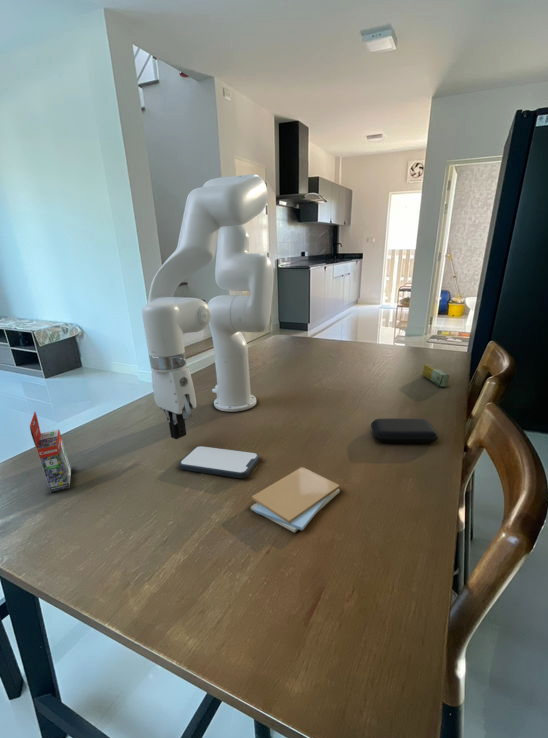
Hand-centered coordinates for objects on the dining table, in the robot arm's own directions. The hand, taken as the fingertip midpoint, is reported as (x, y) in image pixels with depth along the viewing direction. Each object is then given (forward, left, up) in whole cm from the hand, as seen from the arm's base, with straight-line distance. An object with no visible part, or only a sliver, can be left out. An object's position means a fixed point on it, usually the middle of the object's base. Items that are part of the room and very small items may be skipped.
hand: (178, 436), depth 90 cm
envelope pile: (+35, 0, -3) cm, 35 cm away
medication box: (+32, +79, -3) cm, 86 cm away
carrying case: (+40, +36, -3) cm, 54 cm away
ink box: (-8, -24, -3) cm, 25 cm away
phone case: (+14, 0, -3) cm, 14 cm away
